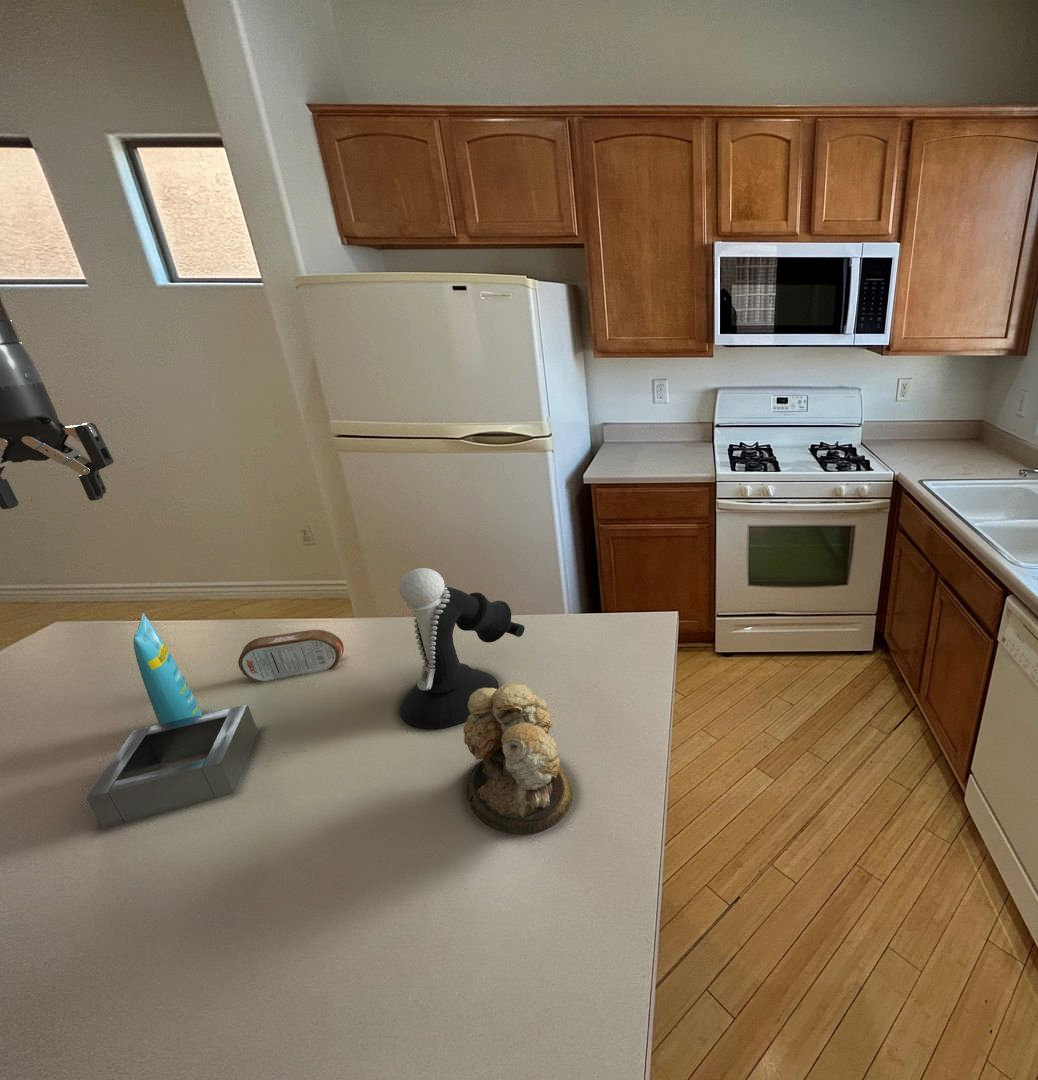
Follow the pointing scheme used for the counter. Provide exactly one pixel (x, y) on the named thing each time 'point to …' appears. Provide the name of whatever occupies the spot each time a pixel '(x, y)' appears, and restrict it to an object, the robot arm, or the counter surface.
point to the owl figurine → (514, 761)
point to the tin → (290, 654)
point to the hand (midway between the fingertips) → (54, 503)
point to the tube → (162, 677)
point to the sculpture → (448, 648)
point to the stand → (147, 792)
